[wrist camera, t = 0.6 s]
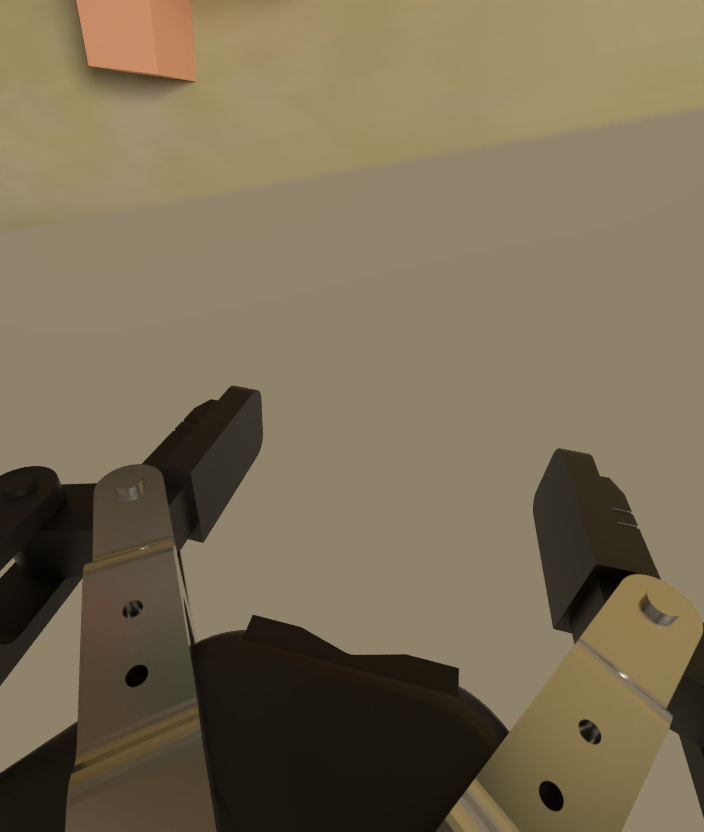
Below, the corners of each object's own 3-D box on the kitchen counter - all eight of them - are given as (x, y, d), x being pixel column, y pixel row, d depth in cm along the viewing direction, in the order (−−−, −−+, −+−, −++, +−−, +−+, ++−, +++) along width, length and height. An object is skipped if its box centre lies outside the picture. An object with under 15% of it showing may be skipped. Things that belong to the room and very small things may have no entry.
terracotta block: (122, -19, 30) (68, -42, 26) (189, -12, 29) (145, -34, 25) (135, 73, 33) (88, 65, 29) (196, 81, 32) (158, 74, 28)
